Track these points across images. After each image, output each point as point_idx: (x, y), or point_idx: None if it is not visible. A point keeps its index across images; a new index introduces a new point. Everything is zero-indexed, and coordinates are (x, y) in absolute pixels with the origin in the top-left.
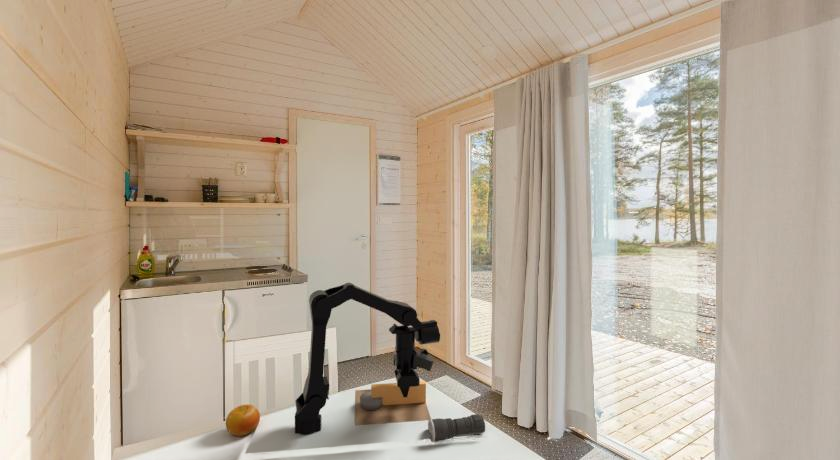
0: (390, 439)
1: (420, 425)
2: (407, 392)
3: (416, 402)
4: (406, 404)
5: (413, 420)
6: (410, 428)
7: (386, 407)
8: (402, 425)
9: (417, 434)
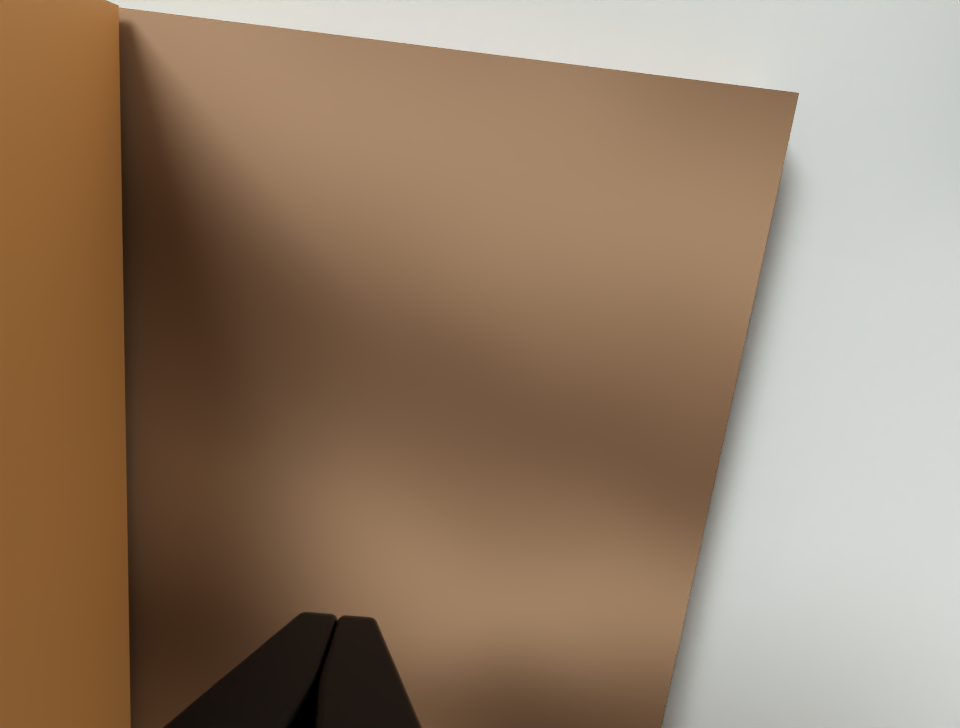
0: (891, 719)
1: None
2: (409, 721)
3: (114, 218)
4: (132, 408)
5: (710, 412)
6: (744, 443)
7: None
8: None
9: (929, 384)
